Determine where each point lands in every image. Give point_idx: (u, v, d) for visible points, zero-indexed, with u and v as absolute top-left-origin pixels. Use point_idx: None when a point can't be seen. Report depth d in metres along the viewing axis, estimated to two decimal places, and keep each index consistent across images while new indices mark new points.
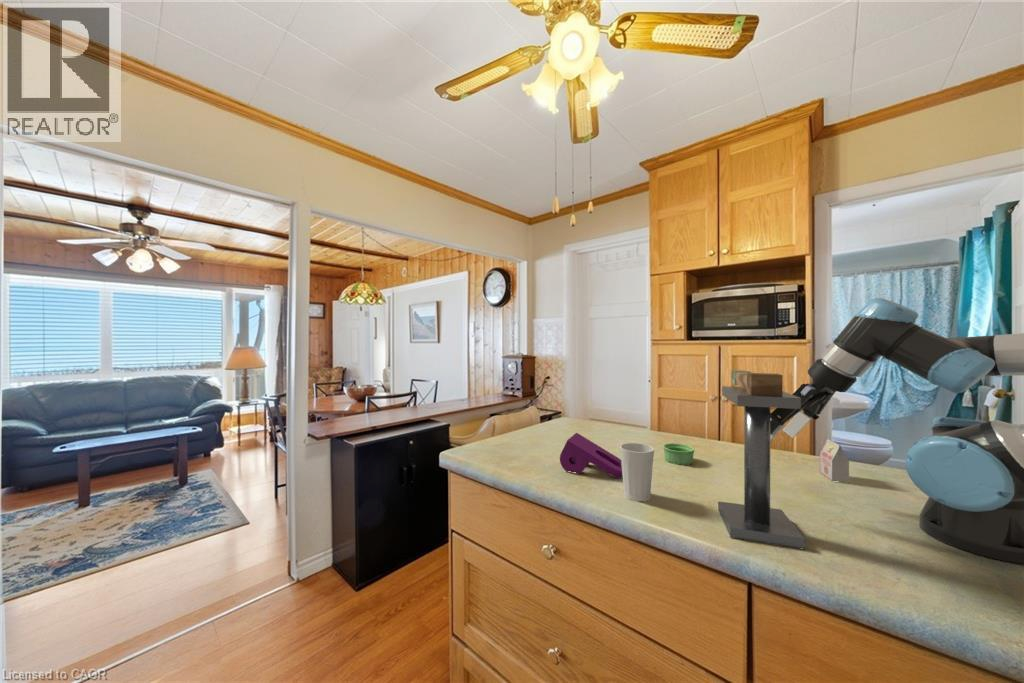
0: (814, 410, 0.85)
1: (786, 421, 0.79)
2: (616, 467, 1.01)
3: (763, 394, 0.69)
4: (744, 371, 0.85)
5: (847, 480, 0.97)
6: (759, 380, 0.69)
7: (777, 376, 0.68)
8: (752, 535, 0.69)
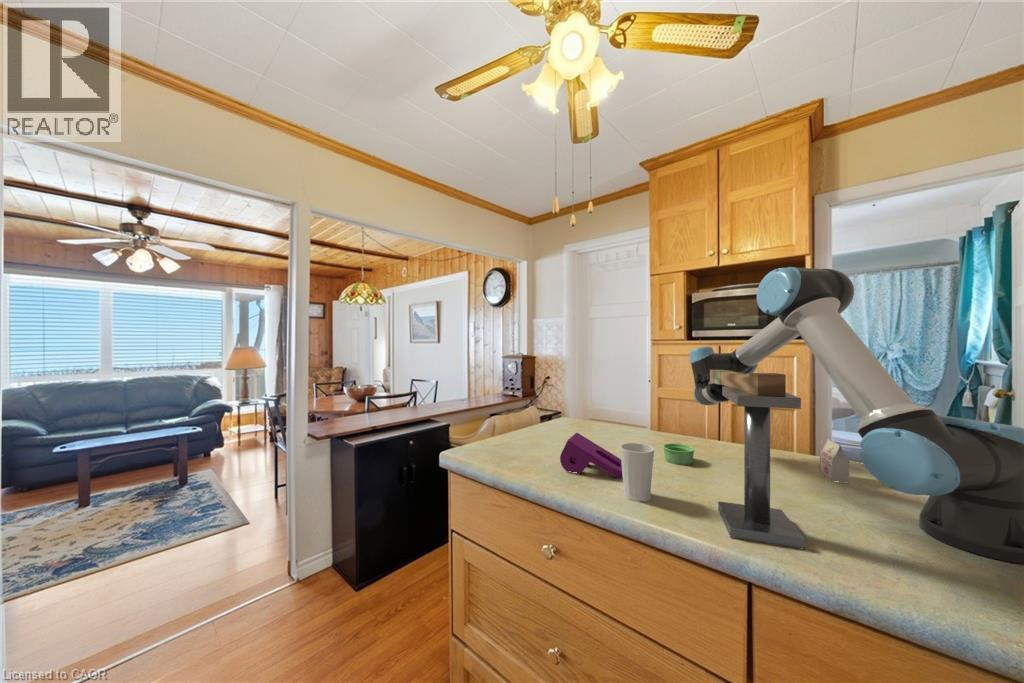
0: None
1: None
2: (617, 467, 1.02)
3: (768, 394, 0.69)
4: (726, 370, 0.86)
5: (847, 480, 0.97)
6: (765, 380, 0.69)
7: (781, 375, 0.69)
8: (752, 535, 0.69)
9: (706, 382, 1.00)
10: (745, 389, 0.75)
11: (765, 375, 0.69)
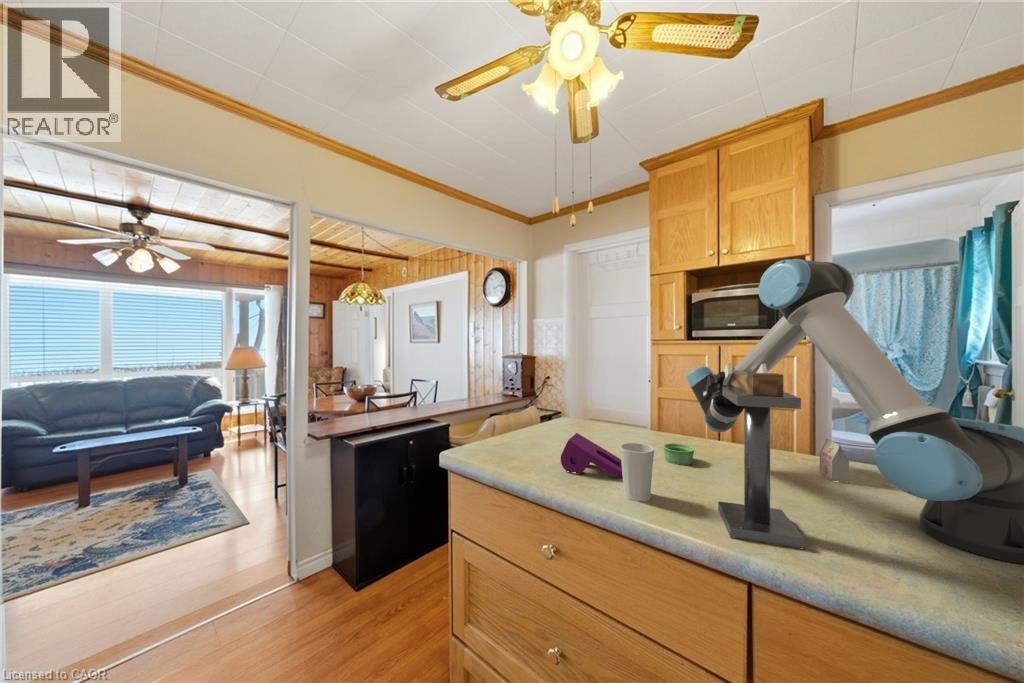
0: None
1: None
2: (617, 467, 1.02)
3: (764, 394, 0.69)
4: (737, 371, 0.85)
5: (847, 480, 0.97)
6: (760, 380, 0.69)
7: (778, 376, 0.68)
8: (752, 535, 0.69)
9: (721, 383, 0.87)
10: (747, 389, 0.75)
11: (761, 375, 0.69)
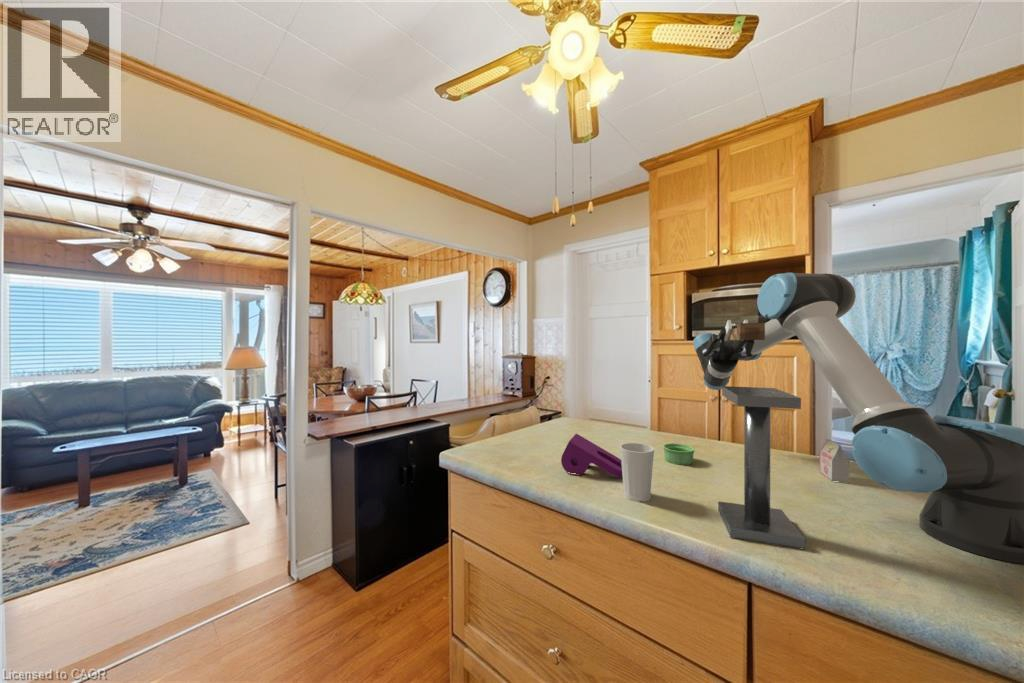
0: None
1: None
2: (619, 467, 1.01)
3: (749, 339, 0.85)
4: None
5: (847, 480, 0.97)
6: (746, 328, 0.86)
7: (760, 324, 0.85)
8: (752, 535, 0.69)
9: (723, 339, 1.03)
10: None
11: (746, 323, 0.85)
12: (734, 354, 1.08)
